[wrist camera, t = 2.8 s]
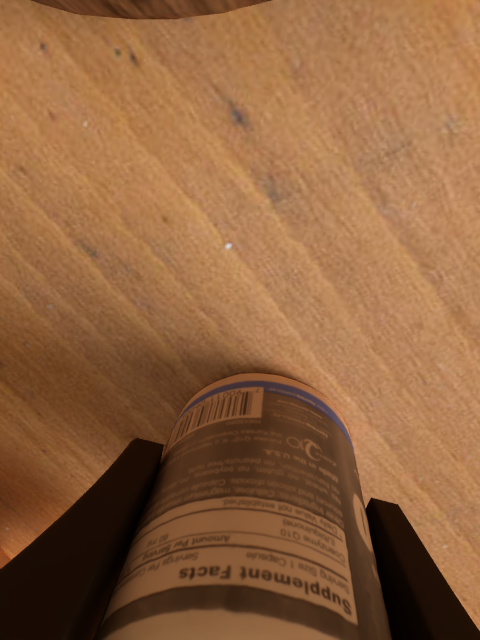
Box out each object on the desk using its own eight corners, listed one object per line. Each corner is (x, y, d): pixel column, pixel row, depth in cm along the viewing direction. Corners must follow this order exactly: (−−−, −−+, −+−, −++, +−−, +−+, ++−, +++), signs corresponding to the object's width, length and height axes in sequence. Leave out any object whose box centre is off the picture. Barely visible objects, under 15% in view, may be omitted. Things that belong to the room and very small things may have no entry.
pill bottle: (326, 521, 12) (384, 1140, 5) (167, 488, 13) (-16, 1045, 5) (375, 386, 10) (604, 1095, 3) (184, 349, 11) (-81, 934, 3)
